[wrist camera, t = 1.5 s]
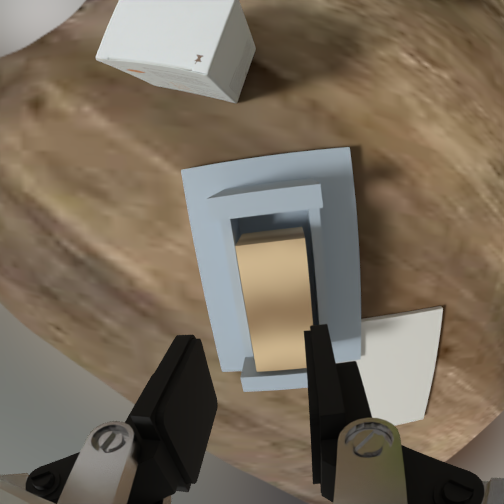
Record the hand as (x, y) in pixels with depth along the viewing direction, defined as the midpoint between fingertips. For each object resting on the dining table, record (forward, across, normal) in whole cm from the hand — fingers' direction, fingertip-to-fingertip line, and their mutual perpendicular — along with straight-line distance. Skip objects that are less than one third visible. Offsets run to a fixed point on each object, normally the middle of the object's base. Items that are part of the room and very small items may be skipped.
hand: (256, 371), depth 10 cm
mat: (+19, -10, +17) cm, 28 cm away
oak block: (+15, 0, +4) cm, 16 cm away
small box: (+20, +4, -16) cm, 25 cm away
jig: (+19, 0, +3) cm, 20 cm away
